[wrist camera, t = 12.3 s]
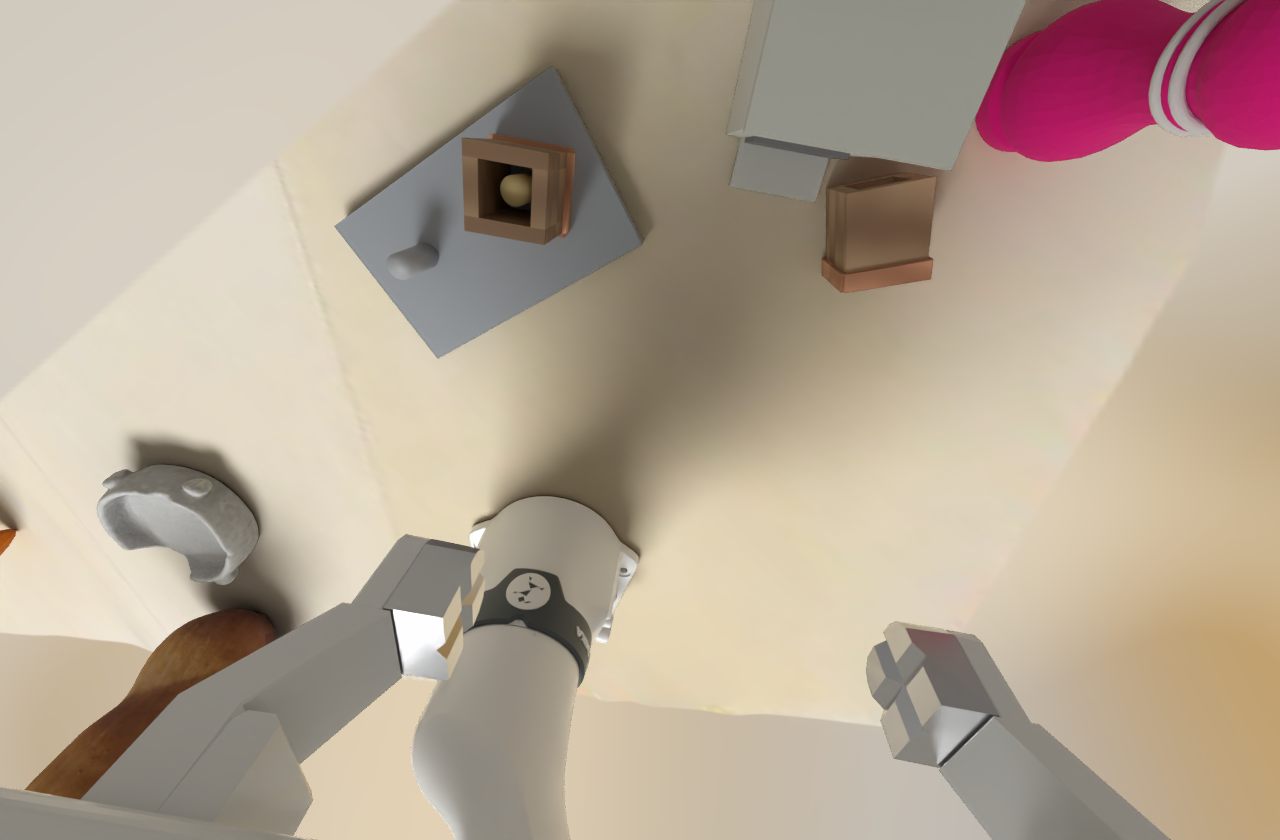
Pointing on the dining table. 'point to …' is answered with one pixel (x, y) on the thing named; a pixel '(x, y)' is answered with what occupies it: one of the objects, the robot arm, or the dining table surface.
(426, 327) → the pin board
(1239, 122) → the pepper mill
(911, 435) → the dining table surface
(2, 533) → the carrot
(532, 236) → the sleeve
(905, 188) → the sleeve
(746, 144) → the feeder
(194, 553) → the dish
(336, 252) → the dining table surface
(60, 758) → the butternut squash
